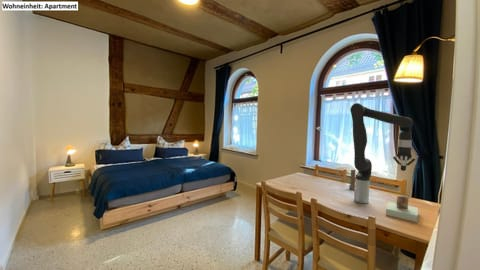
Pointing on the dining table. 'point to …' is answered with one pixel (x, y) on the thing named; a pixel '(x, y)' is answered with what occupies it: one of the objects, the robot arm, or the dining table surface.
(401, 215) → the socket block
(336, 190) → the dining table surface
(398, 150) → the robot arm
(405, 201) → the peg
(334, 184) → the dining table surface
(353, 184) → the wooden block
